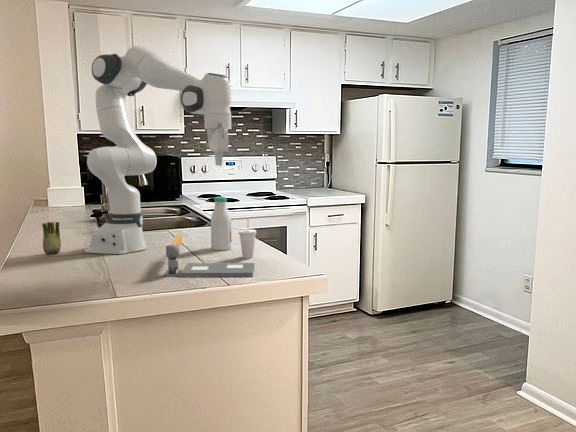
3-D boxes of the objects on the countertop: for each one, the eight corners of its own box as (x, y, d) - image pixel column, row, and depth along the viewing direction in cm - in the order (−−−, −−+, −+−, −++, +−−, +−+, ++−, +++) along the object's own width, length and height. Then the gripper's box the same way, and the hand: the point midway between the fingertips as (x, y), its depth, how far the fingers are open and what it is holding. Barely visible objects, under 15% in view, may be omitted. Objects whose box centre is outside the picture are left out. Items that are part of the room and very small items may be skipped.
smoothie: (242, 260, 177) (242, 220, 175) (236, 256, 183) (235, 218, 180) (259, 258, 180) (259, 219, 178) (252, 254, 186) (252, 216, 183)
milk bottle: (227, 251, 190) (226, 198, 187) (208, 250, 192) (207, 198, 189) (234, 247, 198) (233, 196, 195) (215, 246, 199) (214, 195, 196)
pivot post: (163, 276, 157) (163, 258, 156) (167, 272, 162) (166, 255, 161) (179, 276, 157) (179, 258, 156) (182, 271, 162) (182, 255, 161)
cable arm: (178, 257, 157) (178, 247, 156) (165, 257, 156) (165, 247, 156) (184, 241, 180) (184, 232, 180) (173, 241, 180) (172, 232, 179)
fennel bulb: (61, 252, 189) (59, 220, 187) (60, 255, 185) (58, 222, 183) (44, 253, 187) (42, 221, 186) (42, 256, 183) (40, 223, 181)
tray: (181, 276, 156) (181, 271, 156) (188, 266, 168) (188, 262, 168) (252, 276, 157) (252, 271, 156) (254, 266, 169) (254, 262, 168)
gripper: (232, 122, 159) (233, 167, 161) (222, 124, 178) (223, 163, 180) (212, 122, 157) (213, 167, 159) (204, 124, 176) (205, 164, 179)
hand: (218, 165), depth 170 cm, fingers closed
